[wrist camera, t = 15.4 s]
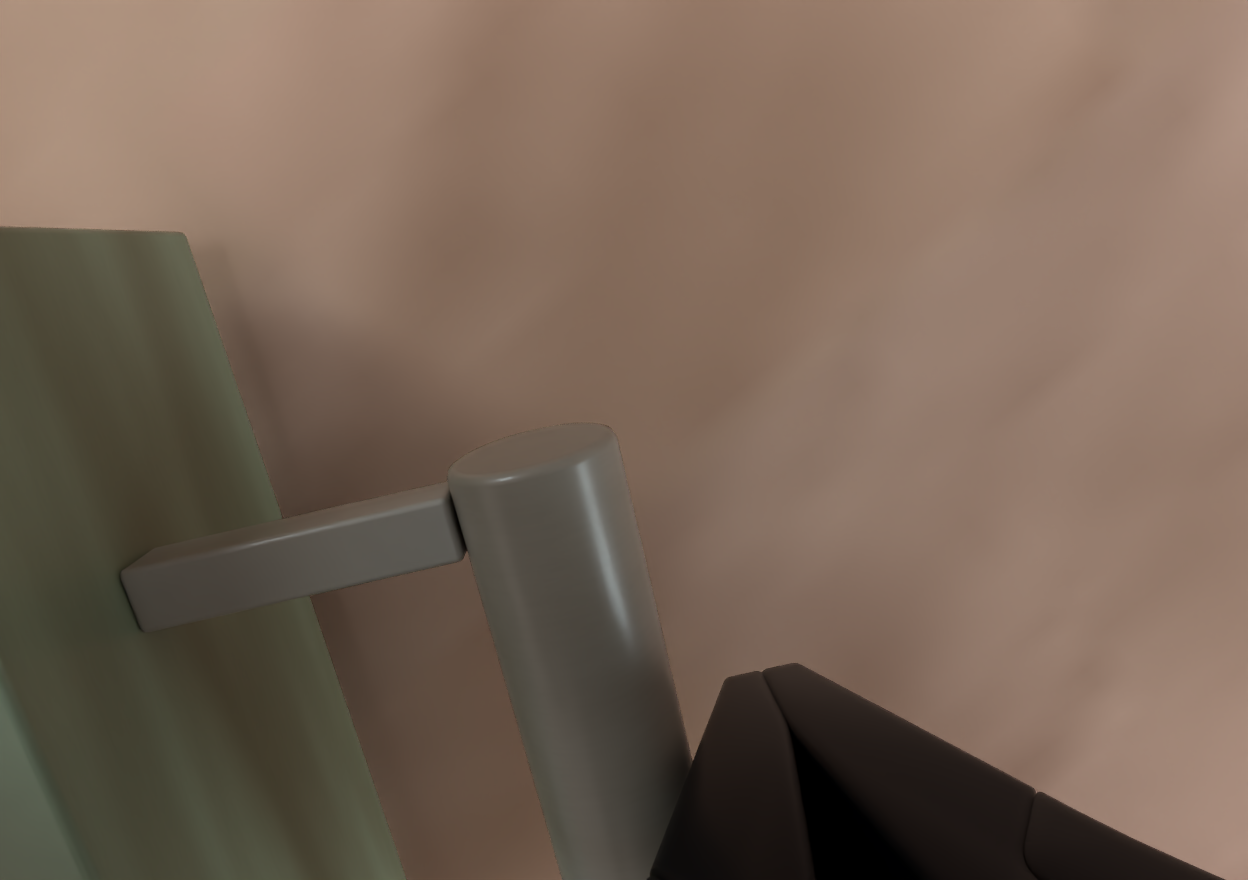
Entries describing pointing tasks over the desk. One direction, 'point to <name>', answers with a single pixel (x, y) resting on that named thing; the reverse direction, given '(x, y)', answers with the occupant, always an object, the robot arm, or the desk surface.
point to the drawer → (274, 604)
